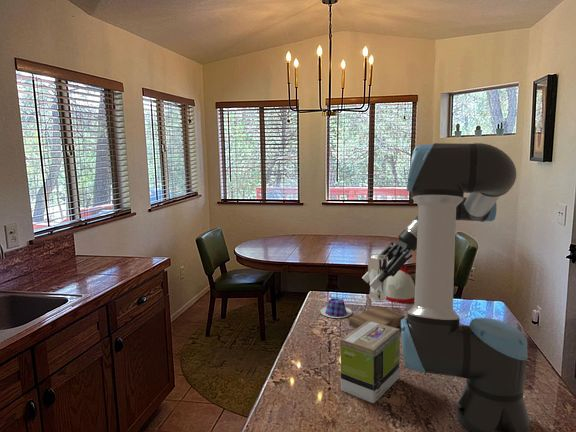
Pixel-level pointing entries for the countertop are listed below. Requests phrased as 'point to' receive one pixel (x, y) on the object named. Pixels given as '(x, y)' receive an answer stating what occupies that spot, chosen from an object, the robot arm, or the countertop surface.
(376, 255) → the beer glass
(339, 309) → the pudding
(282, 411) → the countertop surface
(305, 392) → the countertop surface
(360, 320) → the walnut serving board
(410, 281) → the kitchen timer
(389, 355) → the tea box
